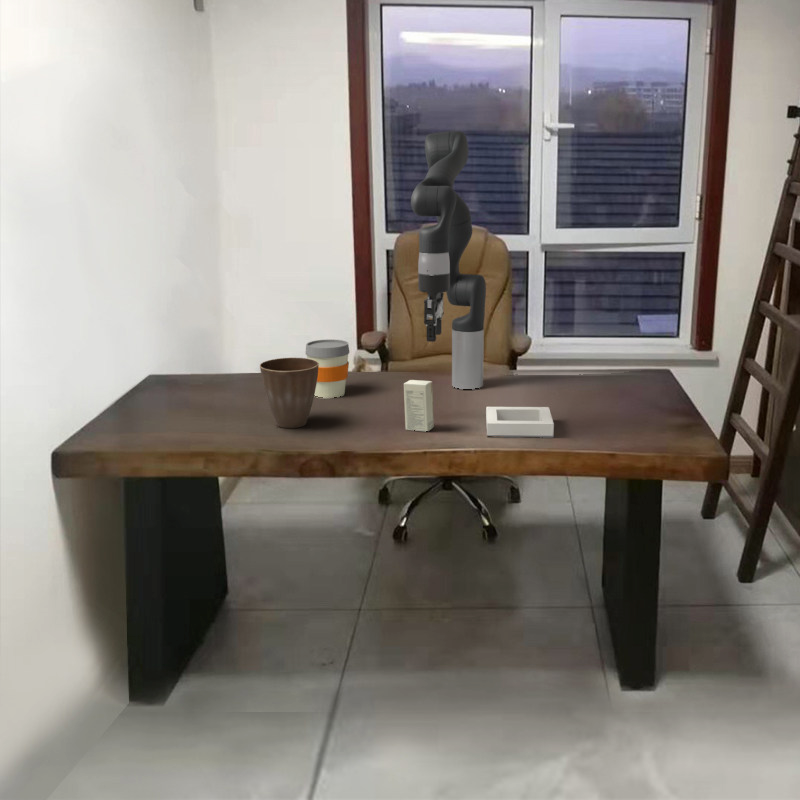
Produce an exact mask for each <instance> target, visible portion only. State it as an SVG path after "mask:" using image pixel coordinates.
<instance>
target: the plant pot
mask: <svg viewBox="0 0 800 800" xmlns="http://www.w3.org/2000/svg"><path fill="white" fill-rule="evenodd" d="M318 368H319V363H318V362H317V361H316V360H312V359H307V358H305V357H281V358H274V359H269V360H266V361H263V362H260V364H259V370H260V374H261V380H262V385H263V388H264V392H265V396H266V398H267V402H268V405H269V408H270V410H271V413H272V416H273V418H274V421H275V423H276V425H277V426H278V427H280V428H286V429H295V428H297V429H298V428H301V427H303V426H305V425H306V424H307V422H308V419H309V416H310V414H311V413H310V412H311V409H312V406H313V402H314V398H315V396H314V394H315V389H316V384H317V377H318Z"/></svg>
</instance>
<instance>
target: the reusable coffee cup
mask: <svg viewBox="0 0 800 800" xmlns="http://www.w3.org/2000/svg"><path fill="white" fill-rule="evenodd" d="M305 355H306V357H307V359H312V360H316V361H317V362H318V363H319V368H318V377H317V384H316V389H315V394H314V395H315V396H318V397H323V398H322V399H335V398H334V397H337V398H341V397H343V396H345V392H346V382H347V378H348V377H349V376H348V375H349V367H350V366H349V363H350V361H349V360H348V359H349V355H350V346H349V342H348V341H346V340H343V339H318V340H311V341H308V342H306V344H305ZM315 396H314V397H315ZM340 396H341V397H340ZM318 397H317V398H318Z"/></svg>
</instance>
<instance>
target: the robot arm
mask: <svg viewBox="0 0 800 800" xmlns="http://www.w3.org/2000/svg"><path fill="white" fill-rule="evenodd" d="M424 152H425V158H426V163H427V167H428V171H427V173H426V175H425V178H424V179H423V180H422V181H421V182H420V183H418V184H417V185H416V186H415V188H414V189H413V192H412V194H411V197H410V206H411V209H412V211H413V213H414V214H415V215H417V216H419V217H436V221H437V223H436V224H434V225H430V226H425V227H422V228H421V229H420V230H419V234H418V240H419V241H418V244H419V245H418V246H419V247H418V249H419V251H418V252H419V253H418V266H417V267H418V269H417V270H418V272H417V273H418V277H417V278H418V281H417V282H418V289H417V290H418V291H419V292H420V293H427V295H426V296H427V297H426V298H424V301H423V303H424V305H423V306H424V311H423V313H424V317H423V318H424V319H423V320H424V321H423V324H424V325H425V327H426V341H427V342H432V343H433V342H436V340H437V336H440V335H442V319H443V317H444V294H445V293H446V298H447V300H448V303H449V304H450V305H451V306H452V305H453V306H456V307H457V306H459V307H469V308H470V309H469V312H468V313H467V314H465V315H462V316H459V317H456V318H454V319H453V320H452V322H451V387H452V386H453V387H452V388H454V387H455V388H454V389H457V388H459V389H458V390H463V389H472V390H476V389H475V388H479V389H481V388H480V387H482V386H483V387H484V347H485V346H484V341H485V340H484V337H485V336H484V333H485V332H484V324H485V315H486V314H485V313H486V312H485V311H486V310H485V309H486V308H485V307H486V296H487V295H486V293H487V283H486V279H485V277H484V276H483V275H482V274H474V273H472V274H470V273H469V274H468V273H461V271H460V260H461V258H462V256H463V255H464V254H463V253H464V252H465V250H466V248H467V247H468V245H469V243H470V241H471V238H472V236H473V226H472V225H473V224H472V218H471V217H472V216H471V210H470V208H469V206H468V205H467V204H466V202H465V201H464V200H463V199H462V197H461V196H460V195H459V194H458V193H457V192H456V190H455V189H454V184H455V181H456V178H457V177H458V175H459V174H461V171H462V170H463V169H464V167H465V166H466V165H467V162H468V159H469V143H468V138H467V136H466V134H465V133H464V131H461V130H451V131H450V130H449V131H441V132H434V133H428V134H427V135H426V136H425V140H424ZM483 387H482V388H483Z"/></svg>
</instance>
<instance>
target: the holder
mask: <svg viewBox="0 0 800 800" xmlns="http://www.w3.org/2000/svg"><path fill="white" fill-rule="evenodd" d="M485 415H486V416H485V418H486V419H485V426H486V437H487V436H504V437H503V438H521V437H540V438H539V439H543V438H544V439H546V438H547V439H548V438H549V439H550V438H551V439H554V430H555V429H554V428H555V423H554V420H553V416H552V414H551V411H550V407H549V406H486V409H485ZM542 437H543V438H542Z"/></svg>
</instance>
